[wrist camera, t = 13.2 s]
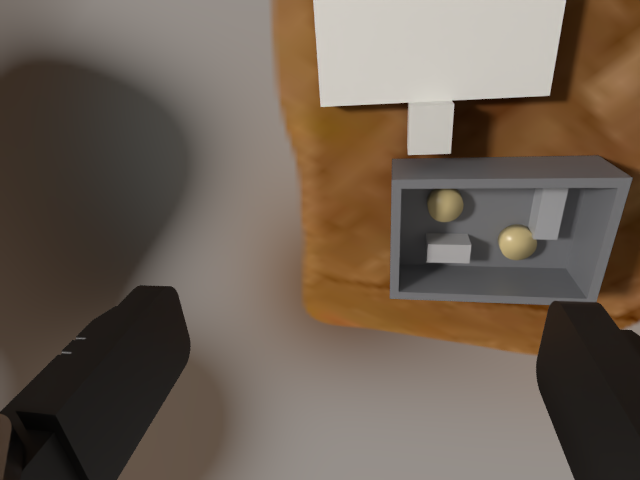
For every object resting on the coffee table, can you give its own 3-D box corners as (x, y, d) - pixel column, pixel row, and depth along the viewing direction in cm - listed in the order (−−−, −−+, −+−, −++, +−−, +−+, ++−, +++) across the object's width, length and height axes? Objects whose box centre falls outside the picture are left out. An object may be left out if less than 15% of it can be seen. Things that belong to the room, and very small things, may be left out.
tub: (392, 158, 40) (391, 179, 34) (598, 155, 37) (632, 177, 31) (390, 266, 45) (389, 298, 40) (569, 271, 42) (594, 306, 37)
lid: (313, -64, 33) (303, -75, 29) (571, -96, 29) (595, -112, 26) (327, 145, 40) (320, 157, 37) (533, 138, 37) (548, 151, 33)
